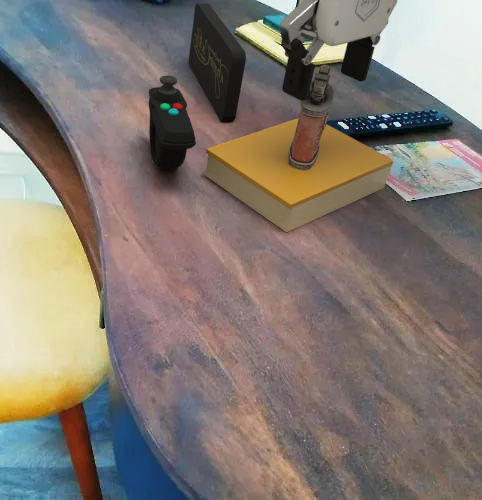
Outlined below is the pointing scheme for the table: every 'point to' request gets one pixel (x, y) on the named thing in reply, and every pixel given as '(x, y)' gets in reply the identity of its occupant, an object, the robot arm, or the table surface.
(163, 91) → the controller
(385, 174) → the square lidded box
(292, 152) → the lighter
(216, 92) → the nameplate
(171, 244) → the table surface
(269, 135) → the cover
